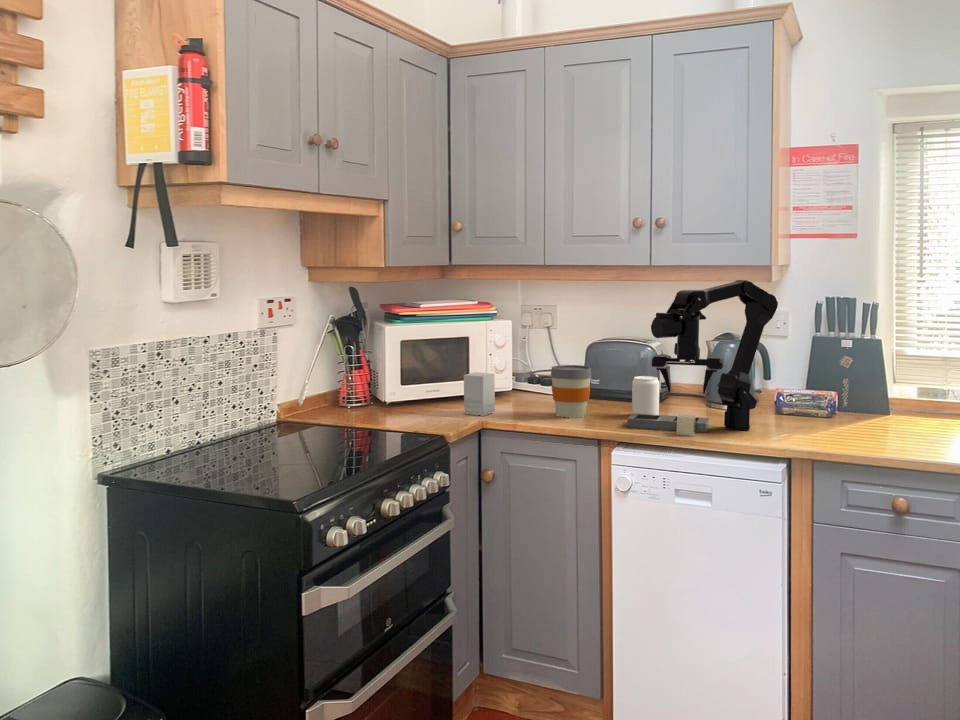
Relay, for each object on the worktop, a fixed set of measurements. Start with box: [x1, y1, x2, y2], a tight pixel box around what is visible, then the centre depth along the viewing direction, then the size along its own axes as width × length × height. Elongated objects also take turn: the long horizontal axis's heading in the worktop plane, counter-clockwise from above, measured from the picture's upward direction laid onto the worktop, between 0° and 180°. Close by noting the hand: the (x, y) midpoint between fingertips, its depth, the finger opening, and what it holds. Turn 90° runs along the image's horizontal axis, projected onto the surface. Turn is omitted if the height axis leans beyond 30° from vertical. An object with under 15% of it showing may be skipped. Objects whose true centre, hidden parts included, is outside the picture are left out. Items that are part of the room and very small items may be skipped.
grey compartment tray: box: [626, 413, 710, 433], centre depth 243 cm, size 22×9×2 cm, turn 69°
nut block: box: [676, 414, 697, 437], centre depth 233 cm, size 4×4×5 cm
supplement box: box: [463, 372, 496, 417], centre depth 265 cm, size 7×7×13 cm
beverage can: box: [631, 375, 660, 415], centre depth 259 cm, size 8×8×12 cm
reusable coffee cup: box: [550, 364, 593, 418], centre depth 261 cm, size 13×13×15 cm
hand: (686, 392), depth 232 cm, fingers open, 9 cm apart
